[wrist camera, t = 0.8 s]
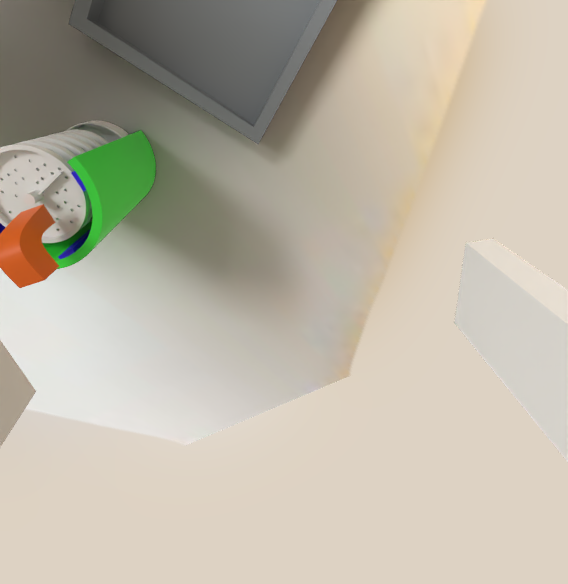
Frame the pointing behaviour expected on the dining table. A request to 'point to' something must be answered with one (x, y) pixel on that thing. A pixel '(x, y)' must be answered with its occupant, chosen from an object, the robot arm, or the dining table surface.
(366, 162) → the dining table surface
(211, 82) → the tray
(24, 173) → the green-shelled ribbed roller
